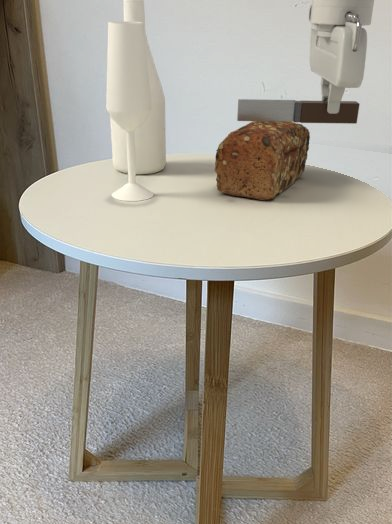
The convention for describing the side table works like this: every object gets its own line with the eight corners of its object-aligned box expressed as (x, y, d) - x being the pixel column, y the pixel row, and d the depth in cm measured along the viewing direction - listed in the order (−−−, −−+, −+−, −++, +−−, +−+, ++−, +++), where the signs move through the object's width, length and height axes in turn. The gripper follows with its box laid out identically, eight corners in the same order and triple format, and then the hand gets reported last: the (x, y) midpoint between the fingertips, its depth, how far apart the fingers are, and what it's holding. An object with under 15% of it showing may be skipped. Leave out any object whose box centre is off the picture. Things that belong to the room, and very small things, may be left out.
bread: (273, 204, 92) (279, 136, 87) (210, 194, 96) (212, 128, 90) (308, 175, 106) (315, 115, 101) (252, 167, 110) (255, 109, 105)
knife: (353, 120, 97) (356, 99, 96) (356, 123, 95) (360, 102, 94) (236, 119, 96) (237, 98, 95) (237, 122, 95) (239, 100, 93)
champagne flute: (121, 186, 98) (112, 20, 86) (159, 190, 97) (156, 21, 84) (104, 198, 93) (92, 22, 80) (145, 202, 91) (139, 24, 79)
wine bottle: (165, 161, 113) (162, -26, 97) (166, 175, 105) (163, -27, 89) (114, 162, 112) (103, -27, 97) (111, 175, 104) (99, -29, 88)
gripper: (384, 14, 79) (367, 124, 87) (345, 8, 97) (334, 100, 104) (337, 13, 79) (324, 123, 86) (307, 8, 97) (298, 99, 104)
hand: (329, 110), depth 95 cm, fingers closed on knife, 2 cm apart
